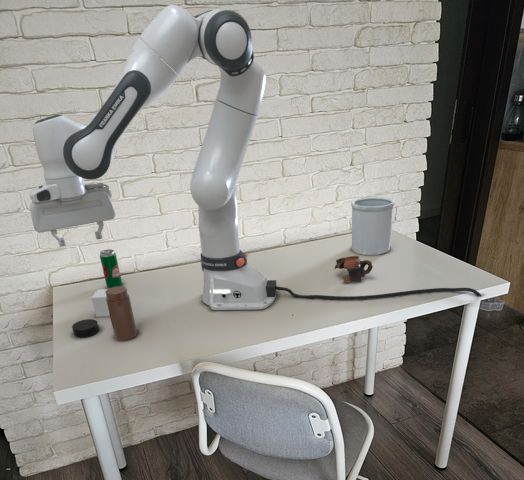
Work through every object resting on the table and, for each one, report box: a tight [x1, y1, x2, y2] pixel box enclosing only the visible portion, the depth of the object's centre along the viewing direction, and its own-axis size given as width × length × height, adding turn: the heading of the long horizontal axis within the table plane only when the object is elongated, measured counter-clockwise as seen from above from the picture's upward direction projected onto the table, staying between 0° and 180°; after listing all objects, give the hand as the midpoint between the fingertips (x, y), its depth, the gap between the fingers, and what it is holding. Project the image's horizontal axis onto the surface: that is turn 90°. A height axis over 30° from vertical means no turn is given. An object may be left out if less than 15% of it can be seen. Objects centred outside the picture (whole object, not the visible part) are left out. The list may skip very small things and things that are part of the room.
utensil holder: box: [350, 195, 396, 256], centre depth 172 cm, size 15×15×18 cm
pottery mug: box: [333, 255, 374, 284], centre depth 152 cm, size 12×10×8 cm
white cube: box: [91, 288, 110, 318], centre depth 139 cm, size 6×6×6 cm
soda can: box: [99, 248, 123, 289], centre depth 155 cm, size 5×5×12 cm
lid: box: [71, 318, 100, 339], centre depth 129 cm, size 7×7×2 cm
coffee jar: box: [105, 285, 138, 342], centre depth 123 cm, size 6×6×13 cm
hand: (81, 242), depth 126 cm, fingers open, 8 cm apart
